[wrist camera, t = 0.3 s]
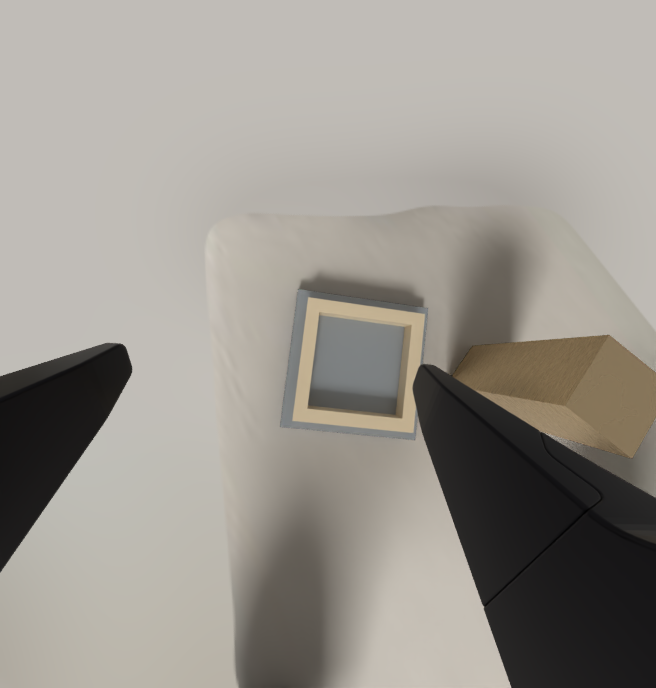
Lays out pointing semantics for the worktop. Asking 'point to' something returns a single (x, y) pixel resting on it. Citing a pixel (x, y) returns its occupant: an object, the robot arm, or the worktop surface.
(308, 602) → the worktop surface
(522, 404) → the brown wooden block
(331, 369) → the dock
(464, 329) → the worktop surface
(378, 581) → the worktop surface
